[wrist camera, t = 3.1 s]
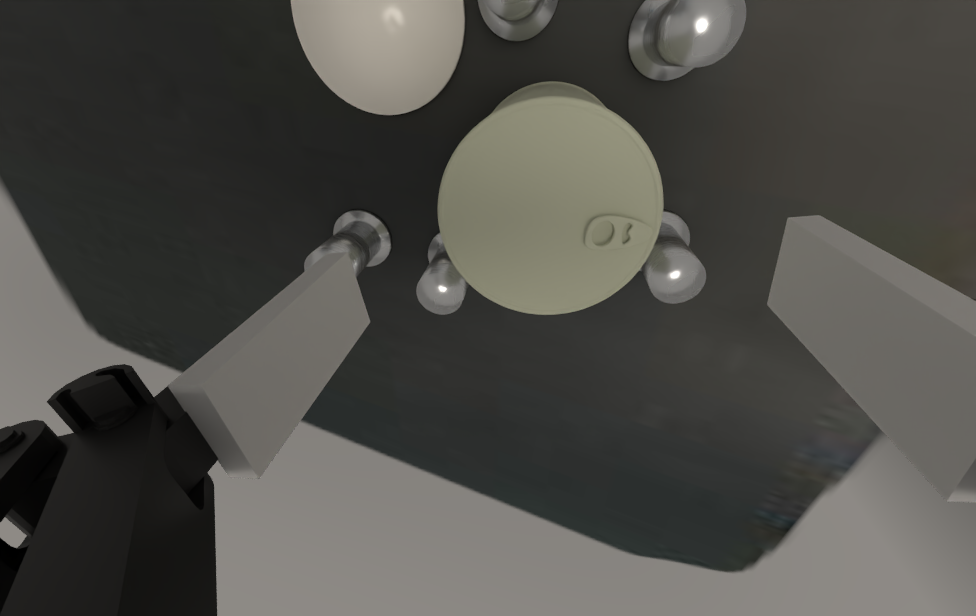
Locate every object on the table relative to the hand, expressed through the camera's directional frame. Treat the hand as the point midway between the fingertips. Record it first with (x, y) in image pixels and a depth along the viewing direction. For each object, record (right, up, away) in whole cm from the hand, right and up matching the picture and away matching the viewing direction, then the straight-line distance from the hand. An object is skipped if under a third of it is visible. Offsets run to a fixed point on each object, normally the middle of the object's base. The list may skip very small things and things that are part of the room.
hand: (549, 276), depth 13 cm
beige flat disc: (-8, +16, +11) cm, 21 cm away
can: (+2, +9, +14) cm, 16 cm away
